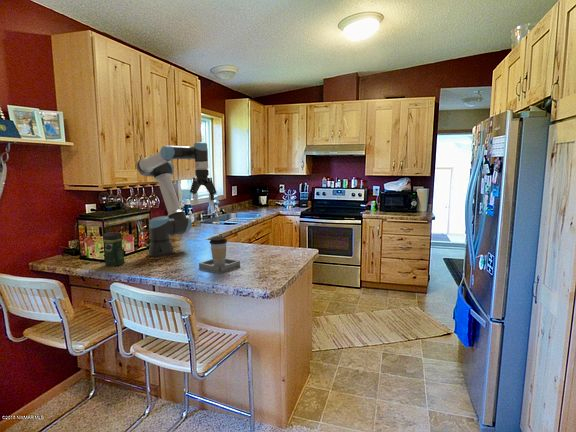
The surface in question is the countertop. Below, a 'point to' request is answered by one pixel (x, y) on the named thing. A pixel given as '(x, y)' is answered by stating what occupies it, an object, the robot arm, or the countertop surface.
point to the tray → (210, 267)
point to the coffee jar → (113, 249)
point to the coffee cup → (218, 250)
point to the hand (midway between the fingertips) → (203, 205)
